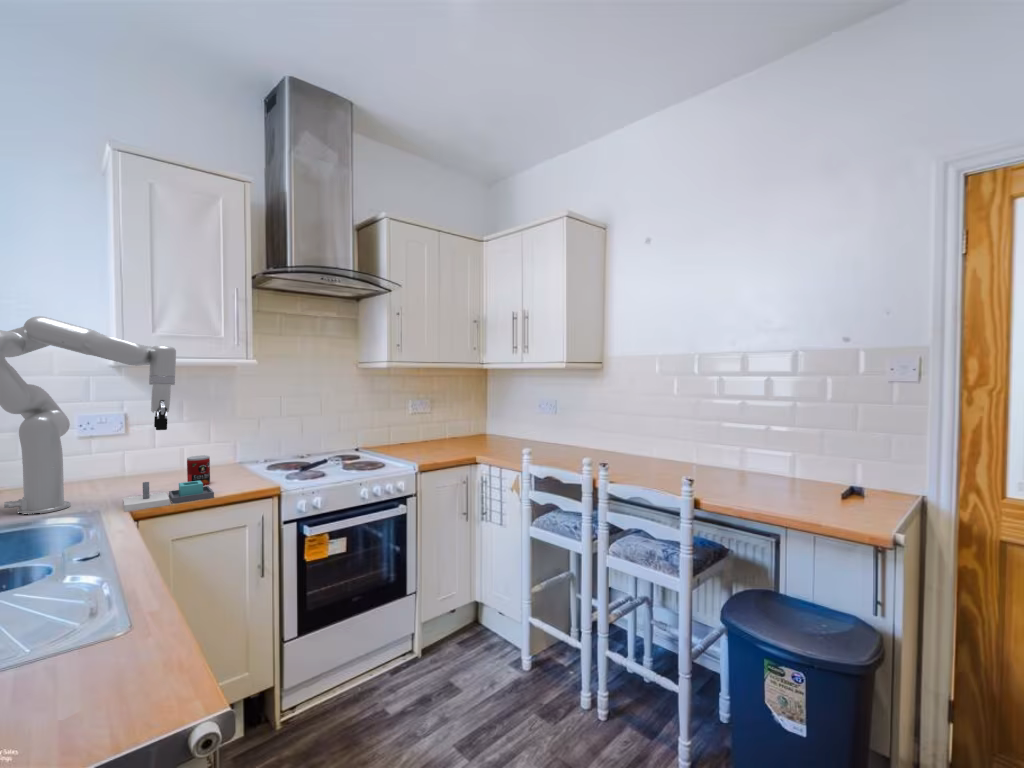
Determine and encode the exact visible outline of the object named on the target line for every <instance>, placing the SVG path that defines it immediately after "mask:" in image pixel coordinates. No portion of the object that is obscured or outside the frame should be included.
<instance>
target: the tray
mask: <svg viewBox="0 0 1024 768" xmlns="http://www.w3.org/2000/svg"><path fill="white" fill-rule="evenodd" d="M168 497H169V499H170V502H171V501H172V502H171V504H173V505H175V504H180V503H187V502H194V501H202V500H207V499H214V498H215V492H214V491H213V489H212V488H211V487H210V486H209V485H204V486H203V493H202V494H195V495H188V496H181V497H180V496H179V489H176V490H175V489H174V490H169V491H168Z"/></svg>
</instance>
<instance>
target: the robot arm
mask: <svg viewBox="0 0 1024 768" xmlns="http://www.w3.org/2000/svg"><path fill="white" fill-rule="evenodd" d="M50 346H52V347H56V348H60V349H64V350H67V351H71V352H75V353H79V354H84V355H86V356H93V357H97V358H101V359H105V360H108V361H113V362H116V363H119V364H124V365H128V366H135V367H137V366H149V373H148V376H149V378H148V384H149V385H151V386H152V388H151V402H150V403H151V404H150V405H151V406H150V411H151V413H153V414H154V413H155V415H154V422H153V424H154V425H153V426H154V428H155V430H156V431H166V430H168V413H169V412H170V404H171V391H172V390H171V389H172V388H171V387H172V386H175V385H176V362H177V361H176V360H177V350H176V348H175V347H173V346H164V345H154V346H151V345H149V346H148V345H144V344H140V343H135V342H130V341H127V340H124V339H119V338H116V337H113V336H109V335H105V334H103V333H100V332H98V331H96V330H95V329H91V328H87V327H83V326H80V325H77V324H72V323H70V322H65V321H62V320H58V319H54V318H52V317H47V316H41V315H38V316H32V317H29V319H27V320H26V321H25V322H24V324H23V326H21V327H17V328H14V329H11V330H1V329H0V407H1V408H2V410H4V411H5V412H7V413H9V414H12V415H21V417H23V419H24V420H23V421H22V422H21V423H20V426H19V428H18V439H19V442H20V449H21V459H22V460H21V464H22V485H23V497H22V498H19V499H17V500H11V501H10V500H9V501H4V502H3V506H4V507H3V508H4V509H14V508H18V509H16V511H17V512H19V513H29V514H28V515H35V514H34V513H40V514H46V513H52V512H57V511H61V510H65V509H67V508H69V507H71V501H68V500H65V488H64V486H65V484H64V459H63V458H64V457H63V448H62V447H63V446H62V445H63V444H62V441H61V437H62V436H65V434H67V432H68V431H69V429H70V427H71V426H70V425H71V424H70V420H69V418H68V416H67V414H65V412H64V411H63V409H61V407H60V406H59V404H58V403H57V402H56V401H55V400H54V398H53V397H52V396H51V395H50V394H49V393H48V392H47V391H46V390H45V389H44V388H43V387H41V386H39V385H35V384H30V383H29V384H28V383H27V382H26V381H25V380H24V379H23V377H22V376H21V375H20V374H19V373H18V371H17V370H16V369H15V367H13V366H12V365H11V364H10V363H9V362H8V361H7V359H6V358H15V357H19V356H22V355H25V354H28V353H32V352H34V351H37V350H40V349H41V350H42V349H44V348H47V347H50ZM32 513H33V514H32Z"/></svg>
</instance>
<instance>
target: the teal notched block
mask: <svg viewBox="0 0 1024 768" xmlns="http://www.w3.org/2000/svg"><path fill="white" fill-rule="evenodd" d="M203 487H204V486H203V483H202V482H201V481H200V480H199V481H192V482H188V481H184V482H179V483H178V490H179V496H180V497H181V496H188V495H195V494H202V493H203Z"/></svg>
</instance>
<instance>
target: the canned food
mask: <svg viewBox="0 0 1024 768" xmlns="http://www.w3.org/2000/svg"><path fill="white" fill-rule="evenodd" d="M210 462H211V460H210V456H209V455H205V454H204V455H195V456H193V455H192V456H188V457H187V458H186V473H187V474H186V476H187V479H186V482H192V481H199V480H200V481H201V482H202V483H203V487H204V486H209V484H210V483H211V463H210Z"/></svg>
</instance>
